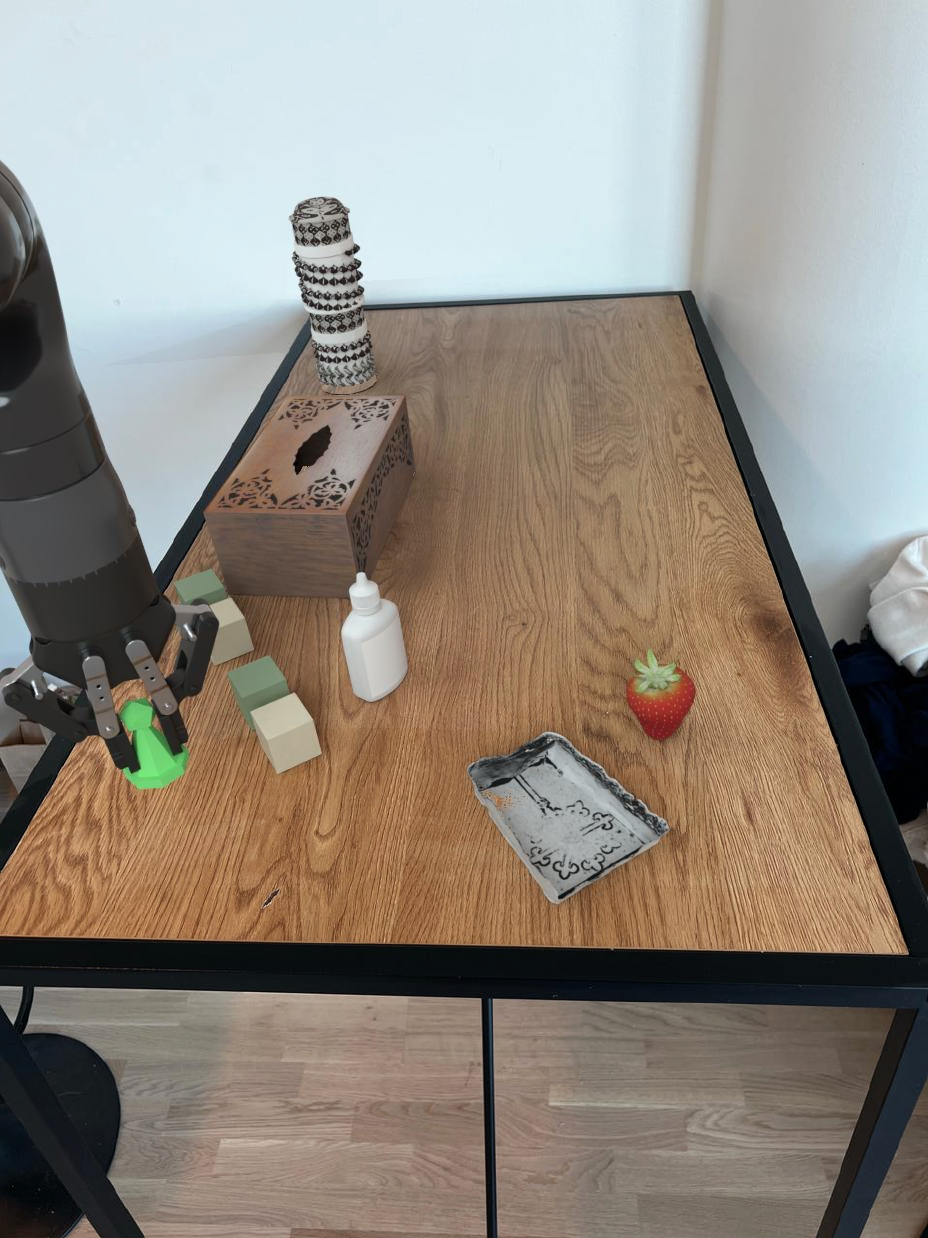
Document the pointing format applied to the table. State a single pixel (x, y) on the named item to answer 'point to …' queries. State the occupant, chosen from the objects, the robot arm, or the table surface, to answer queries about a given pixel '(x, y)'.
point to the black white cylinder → (332, 291)
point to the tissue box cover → (314, 496)
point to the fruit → (660, 696)
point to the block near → (286, 732)
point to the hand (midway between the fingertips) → (153, 755)
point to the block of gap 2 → (257, 685)
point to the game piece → (150, 748)
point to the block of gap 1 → (230, 632)
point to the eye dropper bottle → (373, 642)
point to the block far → (201, 588)
